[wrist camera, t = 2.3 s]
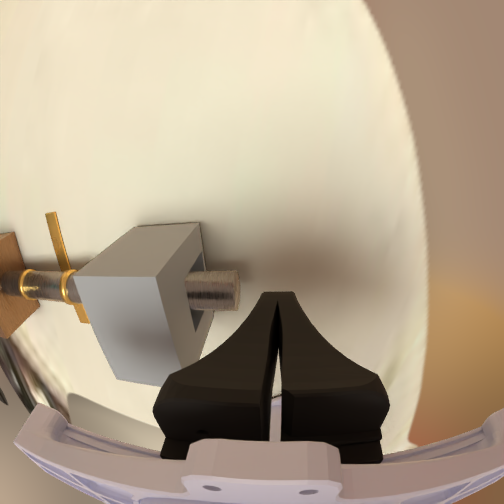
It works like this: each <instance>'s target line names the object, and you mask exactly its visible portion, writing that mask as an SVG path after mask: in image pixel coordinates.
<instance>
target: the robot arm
mask: <svg viewBox="0 0 504 504" xmlns="http://www.w3.org/2000/svg"><path fill="white" fill-rule="evenodd" d="M278 348H279V359H280V370H281V381H282V393H281V396H280V397H277V398H274V399H272V389H273V382H274V376H275V369H276V362H277V355H278ZM389 407H390V403H389V399H388V395H387V392H386V390H385V388H384V386H383V384H382V382H381V380H380V378H379V376H378V375H377V374H375V373H373V372H371V371H369V370H367V369H365V368H363V367H361V366H360V365H358V364H356V363H355V362H353V361H351V360H350V359H348V358H347V357H345V356H344V355H343V354H342V353H340V352H339V351H338V350H336V349H335V348H334V347H333V346H332V345H331V344H330V343H329V342H328V341H327V340H326V339H325V338H324V337H323V336H322V335H321V334H320V333H319V332H318V331H317V329H316V328H315V327H314V326H313V324H312V323H311V322H310V320H309V319H308V317H307V316H306V314H305V313H304V311H303V310H302V308H301V306H300V304H299V302H298V300H297V298H296V296H295V293H294V292H264V293H262V295H261V297H260V299H259V300H258V302H257V304H256V305H255V307H254V309H253V310H252V311H251V313H250V314H249V316H248V317H247V318H246V320H245V321H244V322H243V323H242V324H241V326H240V327H239V328H238V329H237V330H236V331H235V332H234V333H233V334H232V335H231V336H230V337H229V338H228V339H227V340H226V341H225V342H224V343H223V344H221V345H220V346H219V347H218V348H217V349H215V350H214V351H213V352H211V353H210V354H208V355H207V356H205V357H204V358H202V359H200V360H199V361H197V362H195V363H193V364H191V365H189V366H187V367H185V368H183V369H181V370H178V371H176V372H174V373H171V374H169V376H168V377H167V379H166V381H165V382H164V384H163V386H162V388H161V389H160V392H159V394H158V397H157V399H156V401H155V404H154V406H153V414H154V417H155V419H156V421H157V423H158V424H159V426H160V428H161V430H162V431H163V433H164V435H165V437H166V438H165V441H164V444H163V447H162V450H161V452H160V451H156V450H151V449H147V448H143V447H139V446H135V445H131V444H128V443H124V442H121V441H117V440H114V439H111V438H107V437H104V436H101V435H98V434H95V433H93V432H90V431H87V430H84V429H82V428H79V427H76V426H74V425H71V424H69V423H68V422H67V420H66V419H65V418H64V416H63V415H62V414H61V413H59V412H58V411H57V410H55V409H53V408H50V407H48V406H46V405H44V404H41V403H38V404H37V405H36V407H35V408H34V410H33V411H32V413H31V414H30V416H29V417H28V419H27V421H26V422H25V424H24V425H23V427H22V428H21V430H20V432H19V433H18V435H17V436H16V438H15V440H14V444H15V445H16V446H17V447H18V448H19V449H20V450H21V451H22V452H23V453H25V454H26V455H27V456H28V457H29V458H30V459H31V460H32V461H33V462H35V463H36V464H37V465H38V466H39V467H40V468H42V469H43V470H44V471H45V472H47V473H48V474H50V475H52V476H54V477H56V478H57V479H59V480H61V481H63V482H65V483H66V484H68V485H70V486H72V487H74V488H76V489H78V490H79V491H81V492H84V493H85V494H87V495H90V496H92V497H94V498H96V499H98V500H100V501H102V502H104V503H107V504H452V503H454V502H456V501H458V500H460V499H462V498H464V497H467V496H469V495H471V494H473V493H474V492H477V491H479V490H481V489H482V488H484V487H486V486H488V485H490V484H492V483H494V482H496V481H497V480H499V479H500V478H501V477H503V476H504V408H503V409H501V410H499V411H497V412H495V413H493V414H492V415H491V416H489V417H488V418H487V419H486V421H485V422H484V423H483V425H482V427H479V428H477V429H474V430H472V431H469V432H466V433H463V434H461V435H458V436H455V437H452V438H449V439H446V440H443V441H439V442H436V443H432V444H429V445H425V446H421V447H418V448H414V449H409V450H405V451H401V452H396V453H391V454H386V455H383V454H382V449H381V444H380V440H381V439H382V434H381V429H380V427H381V425H382V423H383V421H384V419H385V417H386V415H387V413H388V411H389Z"/></svg>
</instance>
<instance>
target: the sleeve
mask: <svg viewBox="0 0 504 504" xmlns="http://www.w3.org/2000/svg"><path fill="white" fill-rule="evenodd" d="M189 271H206V266H205V260H204V253H203V246H202V239H201V232H200V225H199V223H187V224H171V225H157V226H143V227H133V228H132V229H131V230H129V231H128V232H127V233H125V234H124V235H123V236H121V237H120V238H119V239H118V240H116V241H115V242H114V243H112V244H111V245H110V246H109V247H107V248H106V249H105V250H104V251H102V252H101V253H100V254H99V255H97V256H96V257H95V258H94V259H92V260H91V261H90V262H89V263H88V264H86V265H85V266H84V267H83V268H82V269H80V270H79V271H78V272H77V273H76V274H74V275H73V278H74V281H75V284H76V287H77V290H78V293H79V296H80V298H81V301H82V304H83V306H84V309H85V311H86V314H87V316H88V319H89V321H90V324H91V326H92V328H93V331H94V333H95V335H96V337H97V340H98V342H99V344H100V346H101V348H102V351H103V353H104V355H105V357H106V359H107V361H108V363H109V365H110V367H111V369H112V371H113V373H114V375H115V377H116V379H118V380H123V381H128V382H134V383H140V384H146V385H152V386H159V387H162V386H163V384H164V382H165V381H166V379H167V377H168V376H169V374H171V373H174V372H176V371H178V370H181V369H183V368H185V367H187V366H189V365H191V364H193V363H195V362H197V361H199V359H200V356H201V353H202V350H203V347H204V344H205V341H206V338H207V335H208V332H209V329H210V326H211V323H212V320H213V317H214V314H213V310H190V307H189V302H188V298H187V293H186V288H185V283H184V279H185V277H186V276H187V274H188V272H189Z"/></svg>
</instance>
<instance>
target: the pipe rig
mask: <svg viewBox="0 0 504 504" xmlns="http://www.w3.org/2000/svg"><path fill="white" fill-rule="evenodd" d="M45 215H46V219H47V223H48V227H49V231H50V235H51V239H52V242H53V246H54V249H55V253H56V256H57V259H58V263H59V266H60V269H61V271H36V270H34V269H25V266H24V263H23V260H22V257H21V253H20V250H19V247H18V244H17V240H16V237H15V233H14V232H10V233H4V234H0V337H3V338H6V339H8V337H9V336H10V335H11V334H12V333H13V332H14V331H15V330H16V329H17V328H18V327H19V326H20V325H21V324H22V323H23V322H24V321H25V320H26V319H27V318H28V317H29V316H30V315H31V314H33V313H34V312H35V311H36V310H37V309H38V308H39V307H40V305H39V303H38V300H37V299H39V300H48V301H57V302H65V303H66V304H69V305H74V307H75V310H76V312H77V315H78V317H79V320H80V322H81V323H88V324H90V321H89V319H88V316H87V314H86V311H85V309H84V306H83V304H82V301H81V298H80V296H79V293H78V290H77V287H76V284H75V281H74V278H73V275H74V274H76V273H77V272H78V271H79V270H71V268H70V264H69V261H68V258H67V254H66V251H65V248H64V244H63V240H62V237H61V233H60V229H59V225H58V221H57V216H56V212H51V213H46V214H45ZM184 283H185V288H186V293H187V298H188V302H189V307H190V310H221V311H237V310H238V308H239V302H240V282H239V275H238V272H237V270H232V271H189V272H188V274H187V276H186V277H185V279H184Z"/></svg>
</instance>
